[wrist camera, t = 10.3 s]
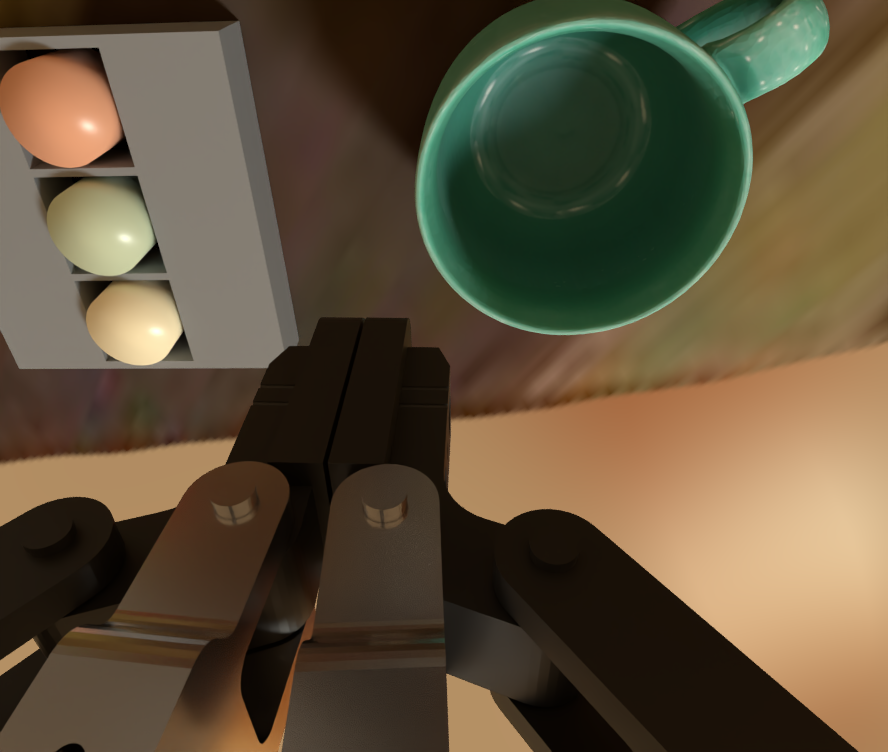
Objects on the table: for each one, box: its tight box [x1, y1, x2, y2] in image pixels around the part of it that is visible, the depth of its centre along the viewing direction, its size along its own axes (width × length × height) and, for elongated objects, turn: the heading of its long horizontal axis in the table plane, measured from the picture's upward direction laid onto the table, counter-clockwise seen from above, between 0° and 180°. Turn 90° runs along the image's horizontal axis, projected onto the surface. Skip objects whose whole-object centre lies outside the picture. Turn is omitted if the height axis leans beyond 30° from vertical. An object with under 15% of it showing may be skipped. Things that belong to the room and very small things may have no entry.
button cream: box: [86, 280, 184, 365], centre depth 38 cm, size 5×5×4 cm
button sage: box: [47, 176, 157, 276], centre depth 34 cm, size 5×5×4 cm
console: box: [0, 21, 299, 369], centre depth 35 cm, size 17×16×3 cm
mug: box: [415, 0, 830, 335], centre depth 28 cm, size 17×12×10 cm
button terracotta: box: [0, 48, 126, 168], centre depth 31 cm, size 5×5×4 cm
